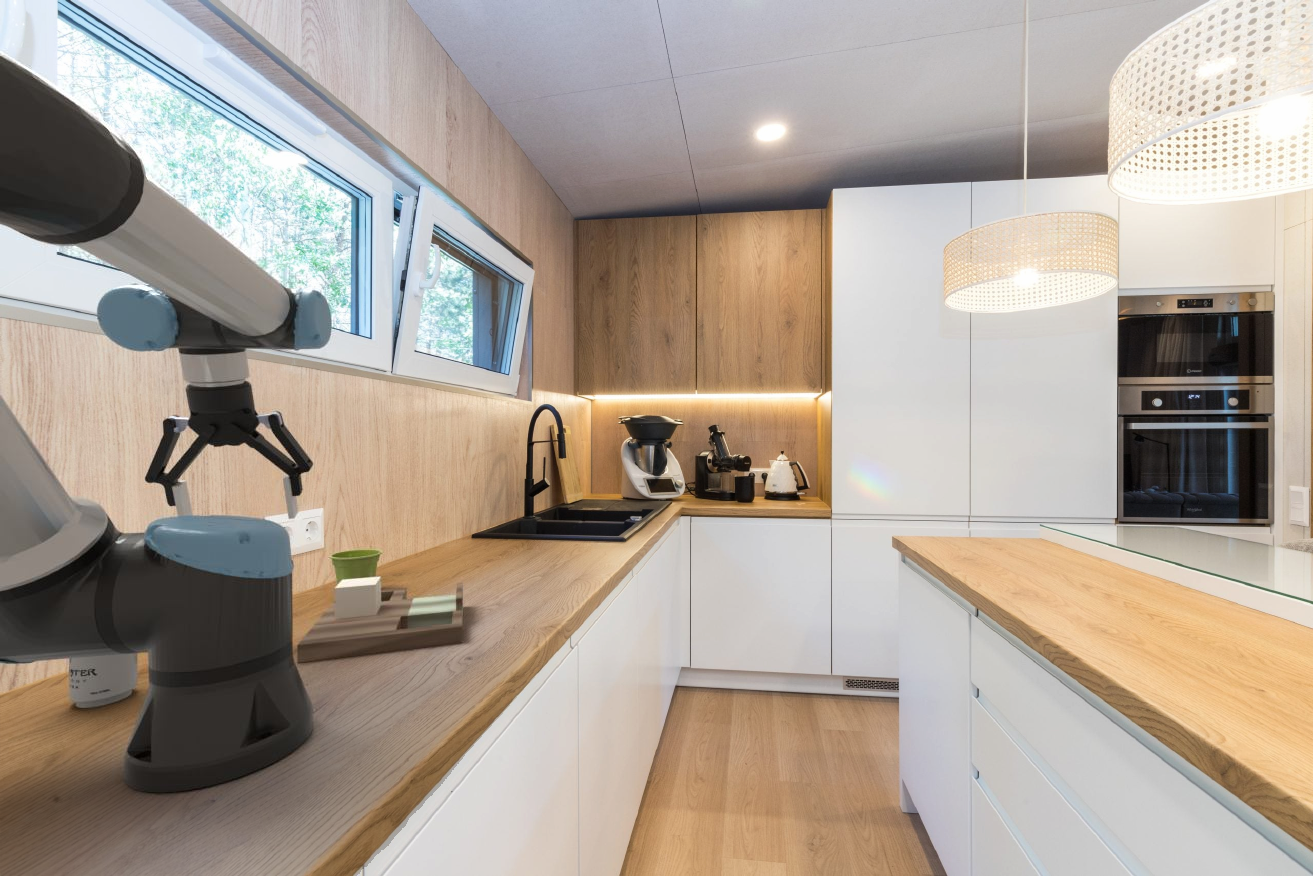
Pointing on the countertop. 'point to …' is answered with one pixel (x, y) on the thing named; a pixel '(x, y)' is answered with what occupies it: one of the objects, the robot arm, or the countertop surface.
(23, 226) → the robot arm
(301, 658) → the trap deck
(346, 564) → the plant pot
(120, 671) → the energy drink can
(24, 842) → the countertop surface
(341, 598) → the block
